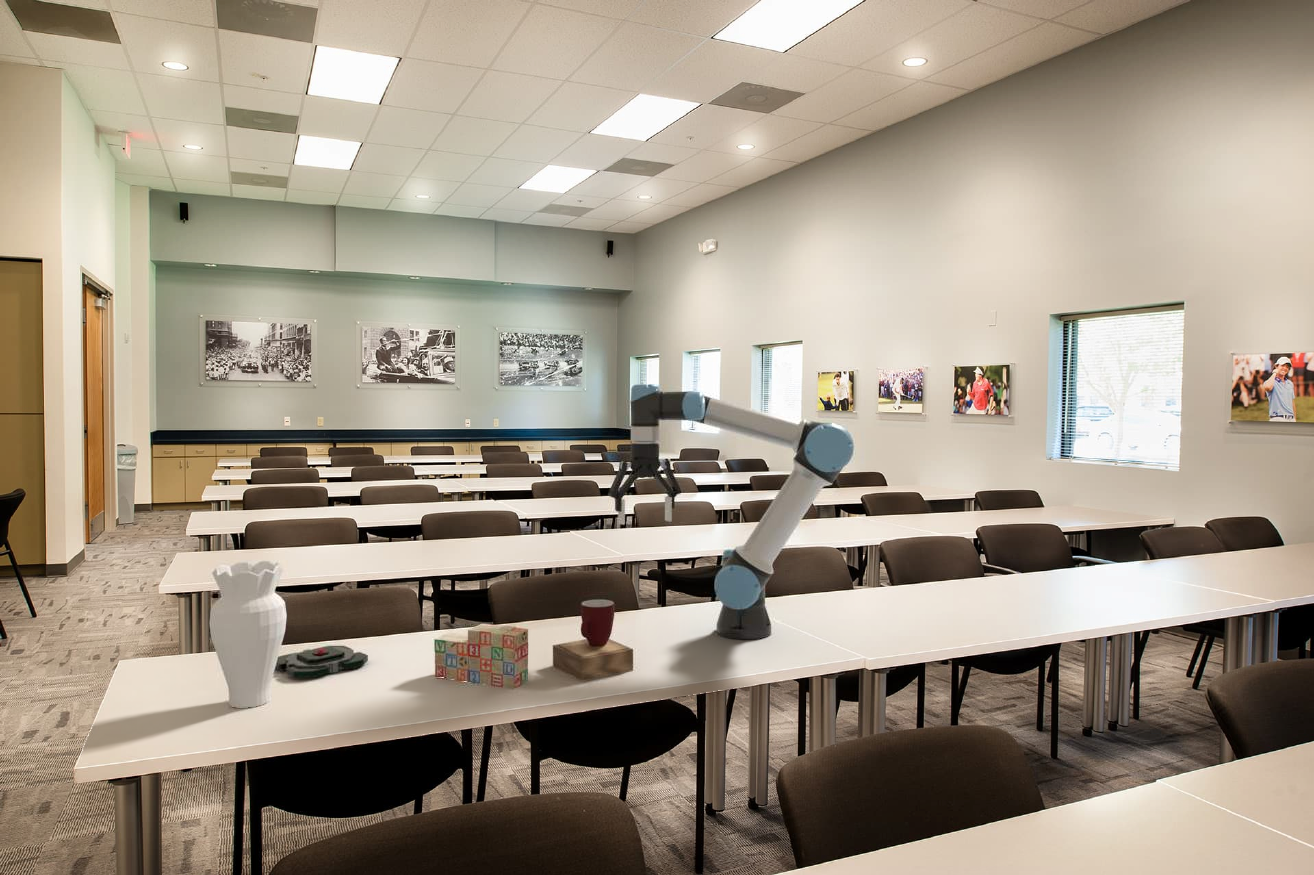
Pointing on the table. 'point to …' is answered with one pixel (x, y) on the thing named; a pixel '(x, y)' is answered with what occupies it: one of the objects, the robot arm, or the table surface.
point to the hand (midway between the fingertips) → (645, 522)
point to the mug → (597, 621)
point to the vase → (248, 629)
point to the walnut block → (592, 659)
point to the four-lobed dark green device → (320, 661)
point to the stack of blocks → (484, 656)
